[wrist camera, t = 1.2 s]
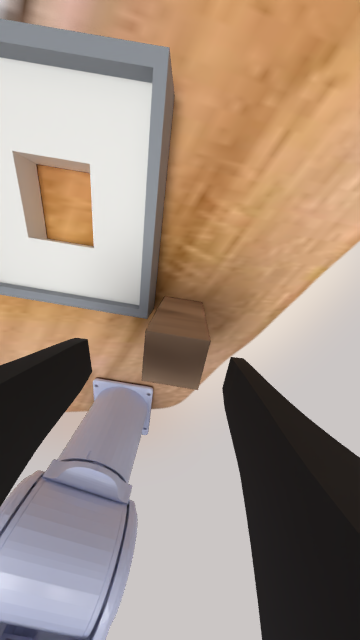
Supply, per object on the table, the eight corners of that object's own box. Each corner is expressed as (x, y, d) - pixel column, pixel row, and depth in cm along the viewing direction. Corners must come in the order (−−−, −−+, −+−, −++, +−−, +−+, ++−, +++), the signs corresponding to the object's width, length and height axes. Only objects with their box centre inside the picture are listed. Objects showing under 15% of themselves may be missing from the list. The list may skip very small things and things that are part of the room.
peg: (195, 335, 19) (197, 389, 12) (160, 329, 19) (141, 380, 12) (202, 302, 18) (210, 341, 10) (164, 296, 17) (145, 330, 10)
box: (153, 308, 18) (147, 318, 15) (7, 283, 18) (-27, 290, 15) (174, 94, 12) (169, 47, 9) (-52, 56, 12) (-127, -4, 9)
